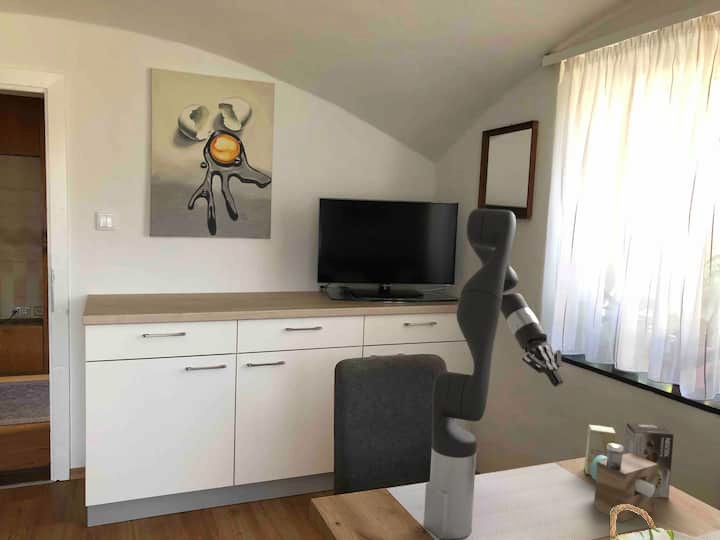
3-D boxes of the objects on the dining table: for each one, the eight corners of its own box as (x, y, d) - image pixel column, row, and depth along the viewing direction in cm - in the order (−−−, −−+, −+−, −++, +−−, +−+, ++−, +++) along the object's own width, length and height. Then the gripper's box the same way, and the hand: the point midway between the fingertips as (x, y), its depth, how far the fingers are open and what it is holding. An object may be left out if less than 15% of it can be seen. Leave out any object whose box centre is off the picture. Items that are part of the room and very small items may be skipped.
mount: (620, 521, 128) (624, 473, 127) (593, 507, 134) (597, 461, 133) (653, 509, 134) (658, 464, 133) (626, 496, 140) (630, 452, 139)
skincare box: (586, 474, 152) (589, 429, 151) (583, 468, 156) (587, 423, 155) (612, 478, 150) (616, 432, 149) (609, 471, 154) (613, 426, 153)
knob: (641, 506, 127) (643, 480, 127) (589, 481, 139) (591, 457, 138) (658, 501, 130) (660, 475, 130) (605, 476, 142) (607, 452, 141)
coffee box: (658, 486, 147) (664, 424, 145) (669, 498, 140) (675, 434, 139) (621, 483, 147) (626, 421, 146) (630, 495, 141) (635, 431, 140)
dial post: (615, 471, 128) (617, 450, 128) (602, 465, 131) (603, 444, 131) (625, 468, 130) (627, 447, 130) (612, 462, 133) (613, 442, 133)
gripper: (516, 321, 151) (549, 379, 142) (551, 319, 158) (586, 374, 149) (500, 338, 156) (531, 395, 147) (535, 335, 163) (567, 389, 154)
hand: (559, 384), depth 148 cm, fingers closed
